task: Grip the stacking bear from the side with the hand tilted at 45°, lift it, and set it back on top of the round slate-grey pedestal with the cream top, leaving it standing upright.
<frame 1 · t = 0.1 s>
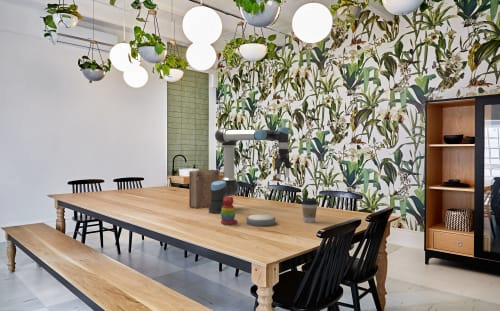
hand: (283, 177, 254), 28 cm above the table, tool pointing down, fingers open, 13 cm apart
coffee cup: (309, 222, 236), on the table
pedestal: (260, 223, 231), on the table
stacking bear: (228, 223, 230), on the table
book: (204, 206, 296), on the table
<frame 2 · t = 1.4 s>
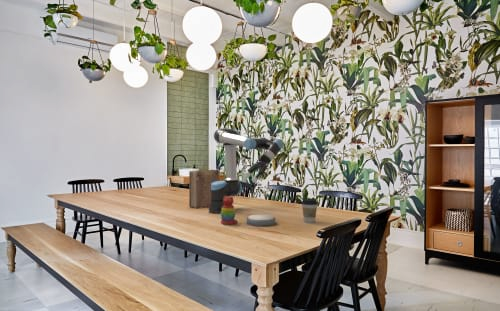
hand: (248, 180, 236), 28 cm above the table, tool tilted 45°, fingers open, 13 cm apart
nothing on the table moved.
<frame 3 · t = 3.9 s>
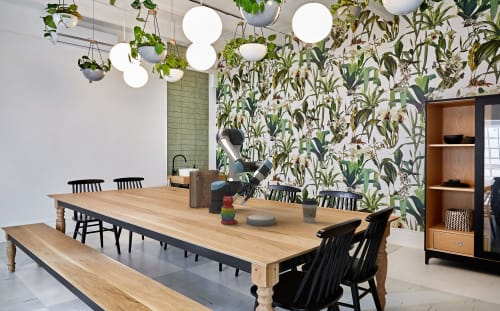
hand: (236, 203, 231), 13 cm above the table, tool tilted 45°, fingers open, 13 cm apart
nothing on the table moved.
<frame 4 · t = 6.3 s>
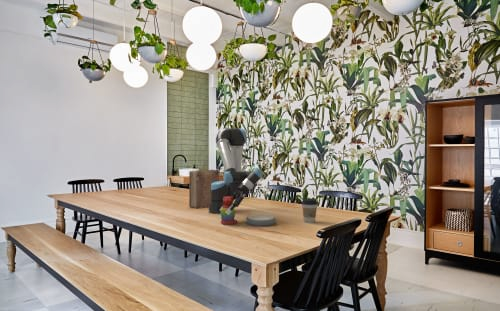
hand: (223, 212, 228), 7 cm above the table, tool tilted 45°, fingers closed on stacking bear, 9 cm apart
stacking bear: (228, 223, 230), on the table, touching gripper
everything else where it was.
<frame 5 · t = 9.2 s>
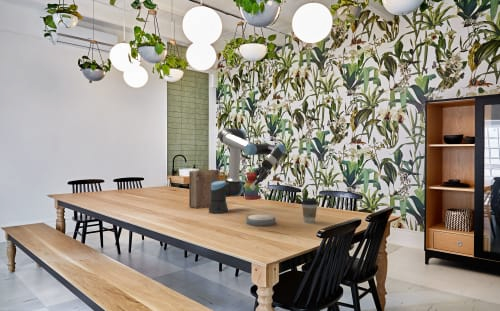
hand: (247, 188, 227), 24 cm above the table, tool tilted 45°, fingers closed on stacking bear, 9 cm apart
stacking bear: (252, 199, 229), point 16 cm above the table, touching gripper
everything else where it was.
when the fingers open (12 cm above the table, at t = 12.6 s): stacking bear stays where it is, resting on pedestal.
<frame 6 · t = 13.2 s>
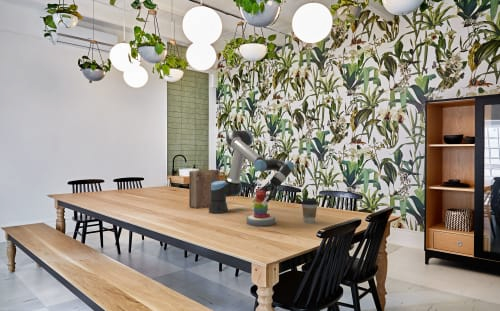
hand: (257, 203, 229), 13 cm above the table, tool tilted 45°, fingers open, 13 cm apart
stacking bear: (260, 217, 231), point 4 cm above the table, touching pedestal
everything else where it was.
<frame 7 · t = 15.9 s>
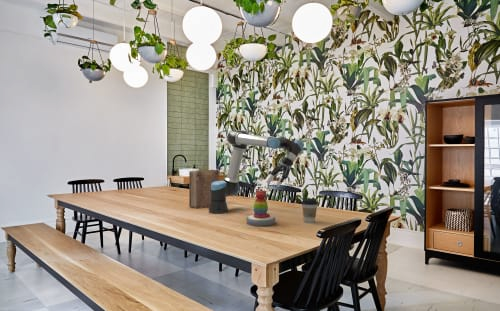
hand: (272, 184, 239), 25 cm above the table, tool tilted 35°, fingers open, 13 cm apart
nothing on the table moved.
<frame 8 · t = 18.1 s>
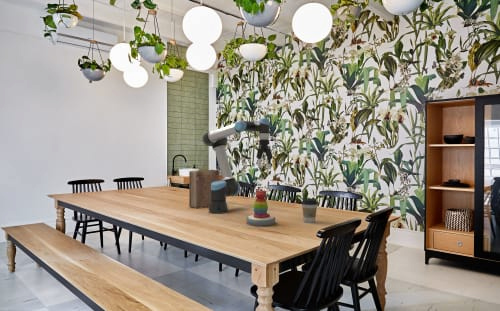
hand: (264, 168, 258), 35 cm above the table, tool pointing down, fingers open, 13 cm apart
nothing on the table moved.
at the end: stacking bear inside the target area on the pedestal (0.2 cm from its centre), point 3.8 cm above the pedestal's base; stacking bear tilted 0°; the gripper is holding nothing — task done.
